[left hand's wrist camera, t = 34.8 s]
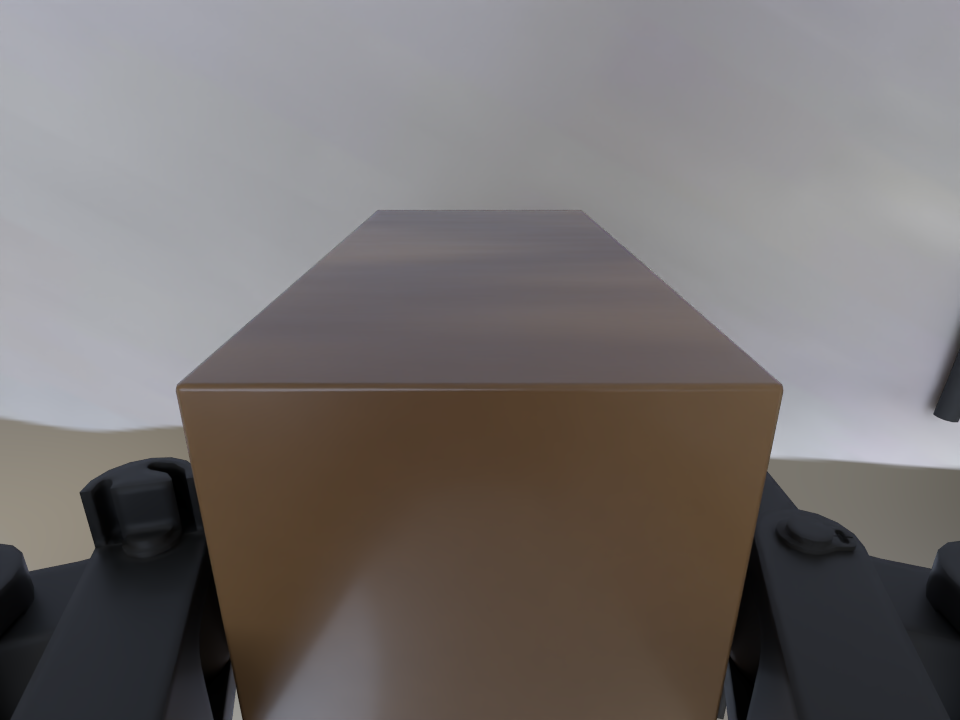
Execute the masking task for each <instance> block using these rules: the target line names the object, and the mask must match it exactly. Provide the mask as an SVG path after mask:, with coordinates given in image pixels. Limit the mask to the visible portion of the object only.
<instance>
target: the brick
mask: <svg viewBox="0 0 960 720" xmlns="http://www.w3.org/2000/svg"><path fill="white" fill-rule="evenodd" d="M176 394H177V399H178V404H179V408H180V413H181V418H182V423H183V428H184V433H185V438H186V443H187V448H188V453H189V458H190V463H191V468H192V473H193V477H194V482H195V487H196V492H197V497H198V502H199V507H200V512H201V517H202V522H203V527H204V532H205V537H206V542H207V546H208V551H209V556H210V561H211V566H212V571H213V576H214V581H215V586H216V591H217V596H218V601H219V606H220V610H221V615H222V620H223V625H224V630H225V635H226V640H227V645H228V650H229V655H230V660H231V665H232V670H233V675H234V679H235V684H236V689H237V694H238V699H239V704H240V709H241V714H242V719H243V720H717V716H718V711H719V706H720V701H721V696H722V691H723V686H724V681H725V676H726V671H727V666H728V661H729V656H730V651H731V646H732V642H733V637H734V632H735V627H736V622H737V617H738V612H739V607H740V602H741V597H742V592H743V587H744V582H745V577H746V572H747V567H748V563H749V558H750V553H751V548H752V543H753V538H754V533H755V528H756V523H757V518H758V513H759V508H760V503H761V498H762V493H763V489H764V484H765V479H766V474H767V469H768V464H769V459H770V454H771V449H772V444H773V439H774V434H775V429H776V424H777V419H778V414H779V410H780V405H781V400H782V395H783V386H782V384H781V383H780V382H779V381H777V380H776V379H775V378H774V377H773V376H772V375H771V374H769V373H768V372H767V371H766V370H765V369H764V368H763V367H761V366H760V365H759V364H758V363H757V362H756V361H754V360H753V359H752V358H751V357H750V356H749V355H748V354H746V353H745V352H744V351H743V350H742V349H741V348H740V347H738V346H737V345H736V344H735V343H734V342H733V341H731V340H730V339H729V338H728V337H727V336H726V335H725V334H723V333H722V332H721V331H720V330H719V329H718V328H717V327H715V326H714V325H713V324H712V323H711V322H710V321H709V320H707V319H706V318H705V317H704V316H703V315H702V314H700V313H699V312H698V311H697V310H696V309H695V308H694V307H692V306H691V305H690V304H689V303H688V302H687V301H686V300H684V299H683V298H682V297H681V296H680V295H679V294H677V293H676V292H675V291H674V290H673V289H672V288H671V287H669V286H668V285H667V284H666V283H665V282H664V281H663V280H661V279H660V278H659V277H658V276H657V275H656V274H654V273H653V272H652V271H651V270H650V269H649V268H648V267H646V266H645V265H644V264H643V263H642V262H641V261H640V260H638V259H637V258H636V257H635V256H634V255H633V254H632V253H630V252H629V251H628V250H627V249H626V248H625V247H623V246H622V245H621V244H620V243H619V242H618V241H617V240H615V239H614V238H613V237H612V236H611V235H610V234H609V233H607V232H606V231H605V230H604V229H603V228H602V227H600V226H599V225H598V224H597V223H596V222H595V221H594V220H592V219H591V218H590V217H589V216H588V215H587V214H586V213H584V212H583V211H582V210H378V211H376V212H375V213H374V214H373V215H372V216H371V217H369V218H368V219H367V220H366V221H365V222H364V223H363V224H361V225H360V226H359V227H358V228H357V229H356V230H354V231H353V232H352V233H351V234H350V235H349V236H348V237H346V238H345V239H344V240H343V241H342V242H341V243H340V244H338V245H337V246H336V247H335V248H334V249H333V250H331V251H330V252H329V253H328V254H327V255H326V256H325V257H323V258H322V259H321V260H320V261H319V262H318V263H316V264H315V265H314V266H313V267H312V268H311V269H310V270H308V271H307V272H306V273H305V274H304V275H303V276H302V277H300V278H299V279H298V280H297V281H296V282H295V283H293V284H292V285H291V286H290V287H289V288H288V289H287V290H285V291H284V292H283V293H282V294H281V295H280V296H278V297H277V298H276V299H275V300H274V301H273V302H272V303H270V304H269V305H268V306H267V307H266V308H265V309H264V310H262V311H261V312H260V313H259V314H258V315H257V316H255V317H254V318H253V319H252V320H251V321H250V322H249V323H247V324H246V325H245V326H244V327H243V328H242V329H240V330H239V331H238V332H237V333H236V334H235V335H234V336H232V337H231V338H230V339H229V340H228V341H227V342H226V343H224V344H223V345H222V346H221V347H220V348H219V349H217V350H216V351H215V352H214V353H213V354H212V355H211V356H209V357H208V358H207V359H206V360H205V361H204V362H202V363H201V364H200V365H199V366H198V367H197V368H196V369H194V370H193V371H192V372H191V373H190V374H189V375H188V376H186V377H185V378H184V379H183V380H182V381H181V382H179V383H178V384H177V387H176Z"/></svg>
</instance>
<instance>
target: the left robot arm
mask: <svg viewBox="0 0 960 720" xmlns="http://www.w3.org/2000/svg"><path fill="white" fill-rule="evenodd" d="M934 415H935V416H937V417H938V418H941V419H943V420H946V421H950V422H958V421H959V419H960V349H959V352H958V355H957V357H956V360H955V362H954V365H953V368H952V370H951V373H950V375H949V378H948V380H947V383H946V385H945V388H944V390H943V393H942V395H941V397H940V400H939V402H938V404H937V406H936V409H935V411H934ZM80 496H81V499H82V503H83V506H84V509H85V513H86V516H87V520H88V524H89V527H90V531H91V534H92V538H93V541H94V544H95V550H94V552H93V554H92V556H91V558H90V559H86V560H83V561H79V562H74V563H69V564H64V565H59V566H54V567H49V568H44V569H39V570H34V571H28V568H27V565H26V562H25V559H24V557H23V554H22V552H21V551H19V550H18V549H17V548H16V547H14V546H13V545H5V544H0V720H232V716H233V708H234V700H235V692H236V684H235V679H234V675H233V670H232V665H231V660H230V655H229V650H228V645H227V640H226V635H225V630H224V625H223V620H222V615H221V610H220V606H219V601H218V596H217V591H216V586H215V581H214V576H213V571H212V566H211V561H210V556H209V551H208V546H207V542H206V537H205V532H204V527H203V522H202V517H201V512H200V507H199V502H198V497H197V492H196V487H195V482H194V477H193V473H192V468H191V463H189V462H188V461H186V460H182V459H177V458H172V457H167V458H149V459H144V460H139V461H135V462H130V463H127V464H124V465H122V466H119V467H116V468H114V469H111V470H108V471H107V472H105V473H103V474H102V475H100V476H98V477H96V478H95V479H93V480H91V481H90V482H89V483H88V484H87V485H86V486H85V487H84V488H83V489H82V490H81V492H80ZM726 706H727V714H728V720H960V541H956V542H948V543H946V544H945V545H944V546H942V547H941V548H940V549H939V550H938V552H937V555H936V558H935V560H934V563H933V566H932V569H930V568H925V567H919V566H915V565H909V564H905V563H900V562H895V561H890V560H885V559H880V558H876V557H872V556H869V555H868V553H867V551H866V549H865V547H864V546H863V544H862V543H861V542H860V541H859V539H858V538H857V537H856V536H855V534H853V533H852V532H850V531H849V530H848V529H846V528H845V527H843V526H842V525H840V524H839V523H837V522H835V521H833V520H830V519H828V518H826V517H823V516H821V515H819V514H816V513H811V512H807V511H803V510H799V509H798V508H797V507H796V506H795V505H794V503H793V502H792V501H791V500H790V499H789V497H788V496H787V495H786V494H785V492H784V491H783V490H782V489H781V488H780V486H779V485H778V484H777V483H776V482H775V480H774V479H773V478H772V477H771V475H770V474H769V473H768V472H767V474H766V479H765V484H764V489H763V493H762V498H761V503H760V508H759V513H758V518H757V523H756V528H755V533H754V538H753V543H752V548H751V553H750V558H749V563H748V567H747V572H746V577H745V582H744V587H743V592H742V597H741V602H740V607H739V612H738V617H737V622H736V627H735V632H734V637H733V642H732V646H731V651H730V656H729V661H728V666H727V671H726V676H725V681H724V686H723V691H722V696H721V701H720V706H719V711H718V716H717V718H719V719H723V718H724V714H725V709H726Z"/></svg>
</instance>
